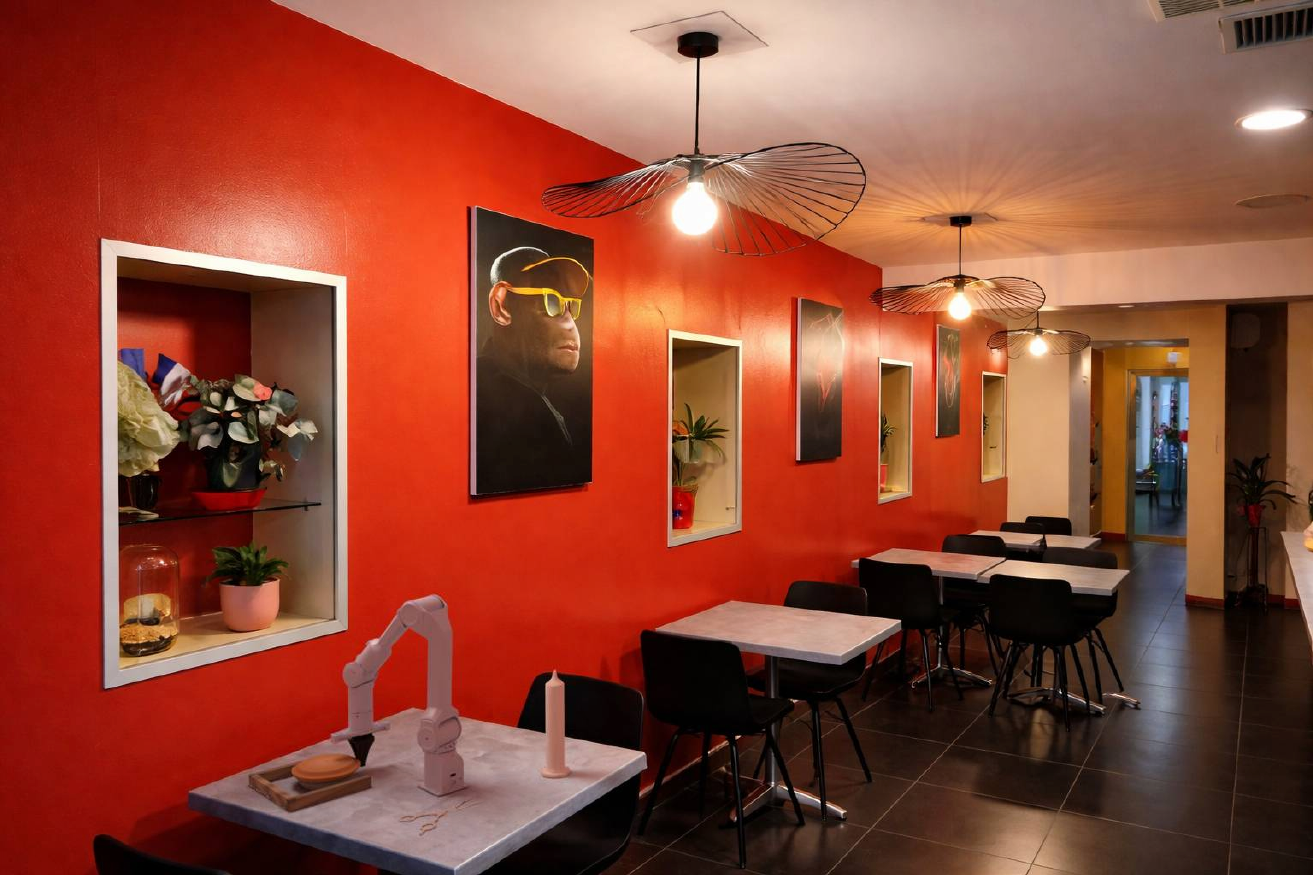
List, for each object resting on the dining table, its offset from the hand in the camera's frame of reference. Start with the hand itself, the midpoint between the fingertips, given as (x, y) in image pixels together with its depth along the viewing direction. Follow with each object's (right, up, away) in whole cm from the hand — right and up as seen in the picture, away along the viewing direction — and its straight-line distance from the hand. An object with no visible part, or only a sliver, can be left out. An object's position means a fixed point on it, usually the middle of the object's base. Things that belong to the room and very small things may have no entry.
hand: (361, 765), depth 229 cm
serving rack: (-9, -2, -9) cm, 12 cm away
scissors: (+26, -2, -25) cm, 36 cm away
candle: (+48, -1, -2) cm, 48 cm away
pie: (-6, -2, -6) cm, 9 cm away
